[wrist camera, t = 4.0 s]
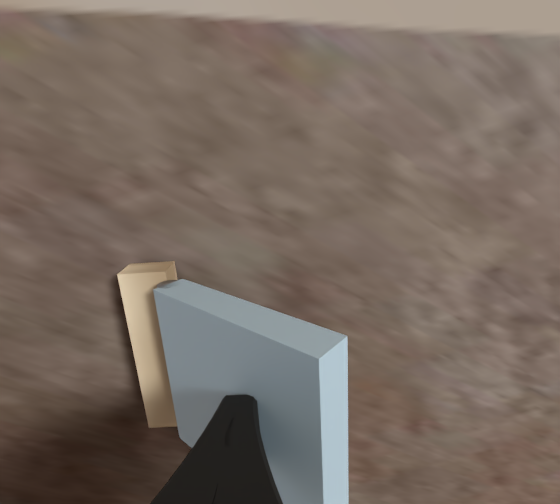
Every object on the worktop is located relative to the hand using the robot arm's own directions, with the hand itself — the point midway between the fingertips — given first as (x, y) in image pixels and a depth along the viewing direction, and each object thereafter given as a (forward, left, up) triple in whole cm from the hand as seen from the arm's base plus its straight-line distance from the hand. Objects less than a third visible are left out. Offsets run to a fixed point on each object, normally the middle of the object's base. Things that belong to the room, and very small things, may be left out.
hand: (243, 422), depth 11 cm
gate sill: (-4, 0, -5) cm, 6 cm away
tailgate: (-3, 0, -3) cm, 4 cm away
